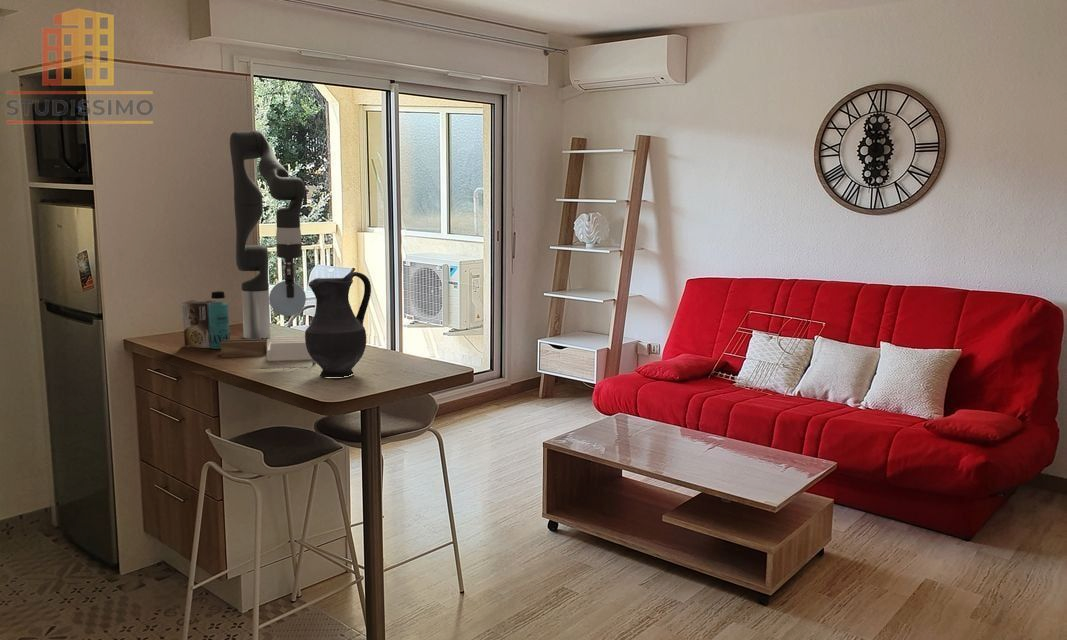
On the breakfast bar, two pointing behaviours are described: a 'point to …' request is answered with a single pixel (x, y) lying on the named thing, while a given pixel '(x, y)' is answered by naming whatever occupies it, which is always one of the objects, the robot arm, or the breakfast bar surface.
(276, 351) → the rack
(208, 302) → the coffee box
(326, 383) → the breakfast bar surface
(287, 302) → the plate
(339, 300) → the pitcher
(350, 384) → the breakfast bar surface
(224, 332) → the beverage bottle
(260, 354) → the stand
